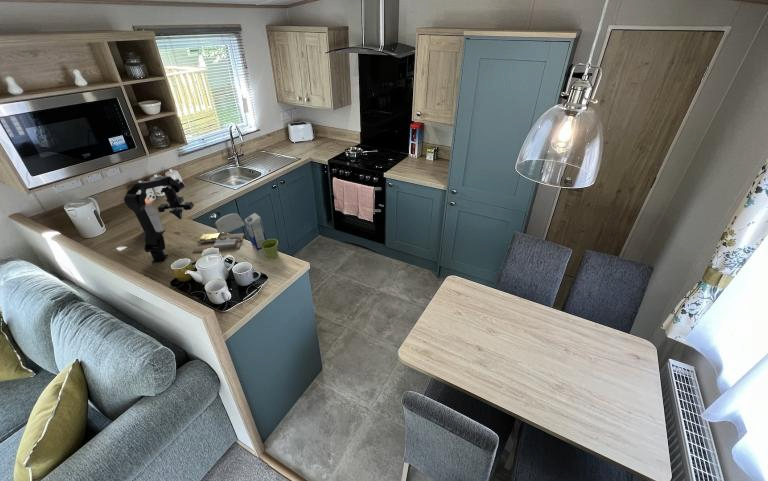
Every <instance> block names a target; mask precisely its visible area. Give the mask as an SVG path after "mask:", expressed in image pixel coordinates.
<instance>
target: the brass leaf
mask: <svg viewBox="0 0 768 481" xmlns="http://www.w3.org/2000/svg"><path fill="white" fill-rule="evenodd" d="M220 235H221V233H218V232H217V233H206V234H205V233H204V234H202V235H201V237H199V240H200V241H204V240H215V239H219V238H220Z"/></svg>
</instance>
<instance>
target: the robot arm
mask: <svg viewBox="0 0 768 481" xmlns="http://www.w3.org/2000/svg"><path fill="white" fill-rule="evenodd" d="M159 187H162V188H161V190H160V193H163V194H164V196H165V198H166V202H168V203H161V204H159V206H158V208H157V212H158V213H165V211H166V210H168V212H169V213H171V214H172V215H173V216H175V217H176V218H177V219H178V220H182V219H183V211H184V210H185V211H190V210H192V209H193V208H194V206H195V204H194V202H193V201H186V202H185V198H184V196H180V195H178V194H177V193H179V192H181V191H183V189H185V187H186V186H185V183H184V182H182V181H181V180H180V179H179V178H176V179H173V177H172V176H170V175H168V176H167V175H165V176H164V175H159V176H156V177H155V178H154V179H151V180H146V181H145V180H144V181H140V182H134V184H133V186H132V187H131V188H130V189H129V190H127V191H126V193H125V196H124V197H123V202H124V204H125V205H126V206H127V208H128V209H130V210H131V211H132V212H134V214H135V216H136V218H137V220H138V222H139V225H140V226H141V228H142V230H143V232H144V234H145V236H144V241H145V244H144V251H145V252H146V253H150V255H151V257H152V259H153V260H152V261H151V262H152V264H153V263H163V262H165V260H166V259H167V258H168V257H169V254H165V252H164V250H165V249H166V244H165V237H164V235H163V233H162V232H156V231H155V229H154V227H153V224H152V222H151V220H150V218H149V216H148V214H147V212H146V210H145V205H146V202H145V199H146V198H147V197H148V196H147V190H150V189H154V188H159ZM139 191H140V194H137V193H138V192H139Z"/></svg>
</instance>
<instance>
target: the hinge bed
mask: <svg viewBox="0 0 768 481" xmlns="http://www.w3.org/2000/svg"><path fill="white" fill-rule="evenodd" d="M244 236H245V233H233V234H232V233H231V234H223V235H221V234H220V238H219V239H215V240H204V241H200V239H199V240H198V241H197V243H196V245H195V247H194V249H193V250H192V254H197V253H198V254H199V253H203V252H202V251H203V250H204V249H207V248H211V247H214V248H219V250H221V251H228V250H238V249H240V247H241V244H242V242H243V240H242V239H244Z"/></svg>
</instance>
